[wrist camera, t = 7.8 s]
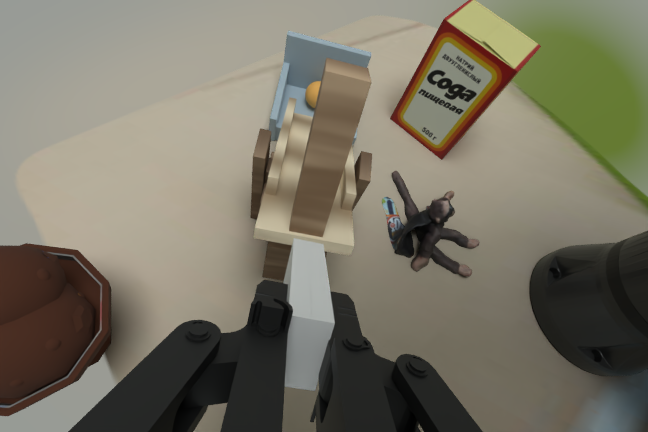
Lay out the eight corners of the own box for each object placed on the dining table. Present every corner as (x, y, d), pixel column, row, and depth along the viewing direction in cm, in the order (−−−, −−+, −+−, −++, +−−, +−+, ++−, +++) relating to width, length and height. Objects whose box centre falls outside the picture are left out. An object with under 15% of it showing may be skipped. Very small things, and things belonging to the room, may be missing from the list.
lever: (350, 255, 25) (415, 95, 18) (253, 238, 24) (279, 61, 17) (344, 132, 41) (377, 19, 33) (284, 119, 40) (305, -1, 33)
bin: (347, 157, 46) (366, 115, 39) (267, 139, 45) (272, 93, 38) (353, 98, 51) (371, 52, 44) (281, 81, 50) (288, 30, 43)
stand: (332, 288, 38) (365, 250, 28) (237, 272, 37) (235, 226, 26) (341, 201, 43) (372, 140, 33) (258, 184, 42) (263, 115, 31)
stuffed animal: (458, 300, 40) (412, 221, 35) (392, 286, 47) (347, 220, 43) (497, 228, 45) (462, 152, 40) (432, 227, 53) (396, 162, 48)
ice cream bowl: (-13, 318, 31) (-205, 265, 18) (122, 261, 35) (48, 184, 22) (21, 438, 28) (-182, 482, 15) (163, 359, 32) (107, 339, 19)
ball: (322, 107, 50) (328, 82, 49) (331, 113, 47) (338, 86, 46) (299, 103, 49) (304, 77, 47) (307, 108, 46) (313, 80, 44)
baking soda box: (390, 118, 51) (445, 15, 37) (413, 97, 54) (473, -6, 40) (441, 159, 49) (520, 68, 35) (463, 135, 52) (543, 43, 38)
